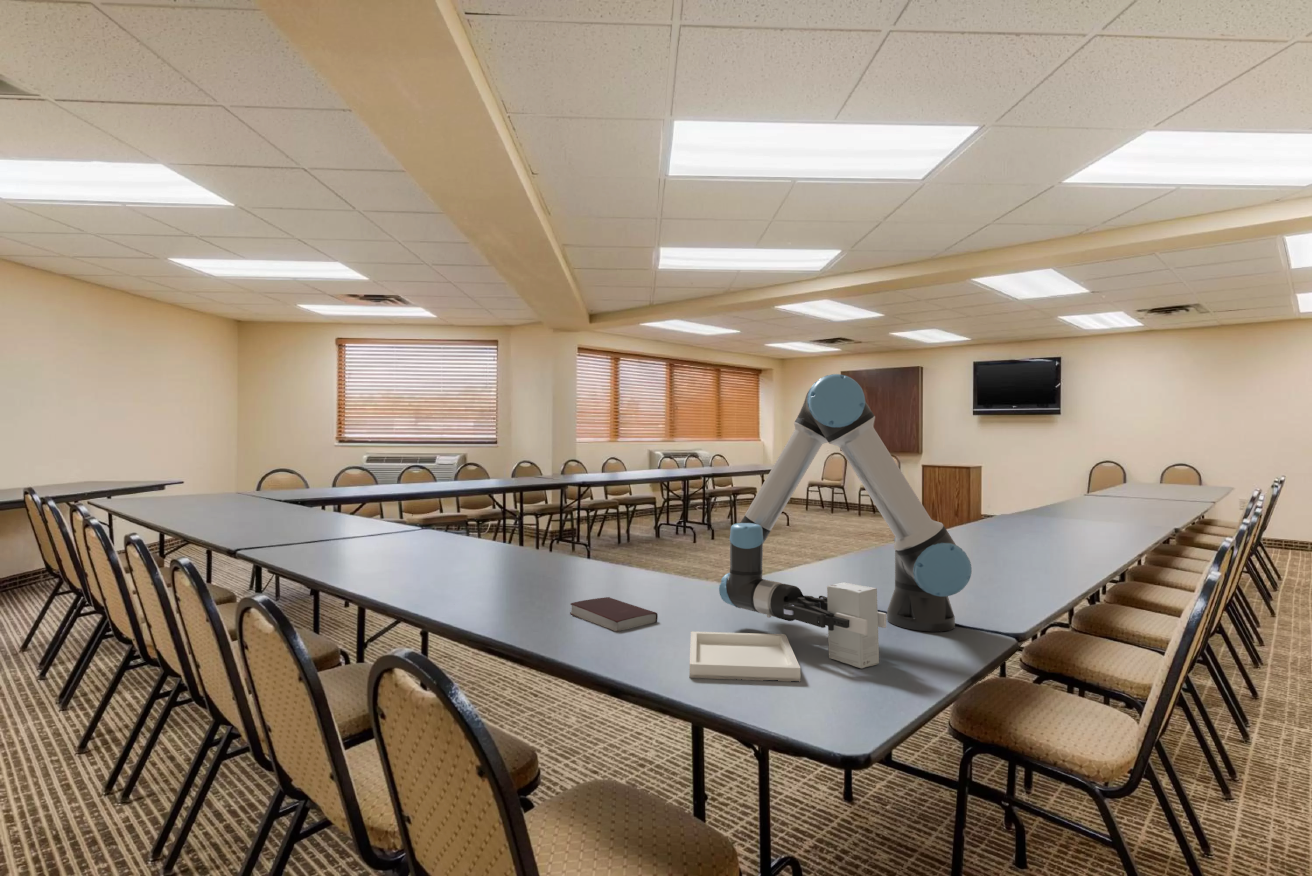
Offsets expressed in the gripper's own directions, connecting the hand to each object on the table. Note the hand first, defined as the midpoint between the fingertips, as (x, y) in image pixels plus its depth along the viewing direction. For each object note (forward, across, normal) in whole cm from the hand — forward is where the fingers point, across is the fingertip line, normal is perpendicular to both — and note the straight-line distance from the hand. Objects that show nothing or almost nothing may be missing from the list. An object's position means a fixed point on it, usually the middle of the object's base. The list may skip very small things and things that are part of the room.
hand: (875, 623), depth 122 cm
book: (-59, +18, -9) cm, 63 cm away
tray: (-19, +17, -8) cm, 27 cm away
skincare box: (-5, 0, -9) cm, 10 cm away
